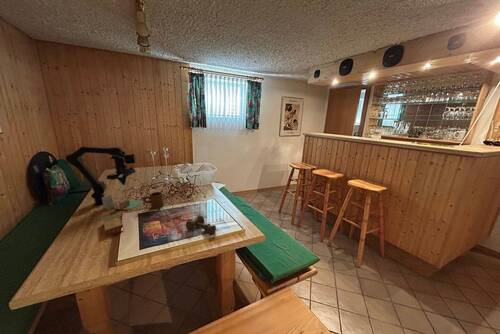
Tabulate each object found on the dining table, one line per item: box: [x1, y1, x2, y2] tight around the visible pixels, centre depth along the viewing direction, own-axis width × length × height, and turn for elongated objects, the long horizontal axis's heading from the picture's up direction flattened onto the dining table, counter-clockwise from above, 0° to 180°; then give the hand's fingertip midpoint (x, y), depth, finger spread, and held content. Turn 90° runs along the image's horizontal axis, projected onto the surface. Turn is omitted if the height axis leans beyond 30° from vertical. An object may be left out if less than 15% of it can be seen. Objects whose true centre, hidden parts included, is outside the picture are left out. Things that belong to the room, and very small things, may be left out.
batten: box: [112, 206, 129, 211], centre depth 131 cm, size 12×1×1 cm, turn 74°
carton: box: [102, 213, 124, 237], centre depth 110 cm, size 8×16×4 cm, turn 40°
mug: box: [142, 191, 164, 209], centre depth 132 cm, size 12×8×9 cm, turn 123°
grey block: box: [102, 195, 114, 210], centre depth 132 cm, size 4×4×8 cm
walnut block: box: [113, 199, 130, 210], centre depth 132 cm, size 4×4×8 cm
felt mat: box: [124, 198, 145, 210], centre depth 138 cm, size 14×12×1 cm
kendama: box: [185, 214, 217, 236], centre depth 108 cm, size 6×10×20 cm
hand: (123, 184), depth 142 cm, fingers closed
